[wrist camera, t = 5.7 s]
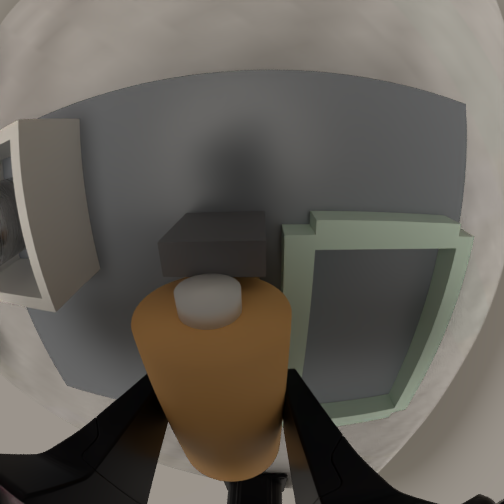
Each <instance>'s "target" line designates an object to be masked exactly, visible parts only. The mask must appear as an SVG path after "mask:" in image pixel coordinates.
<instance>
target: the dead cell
mask: <svg viewBox="0 0 504 504" xmlns="http://www.w3.org/2000/svg"><path fill="white" fill-rule="evenodd" d="M25 249H26V245H25V241H24V237H23V233H22V229H21V224H20V219H19V214H18V209H17V203H16V197H15V190H14V183H13V177H10V178H7V179H4V180H1V181H0V266H1V265H2V264H4V263H5V262H7V261H8V260H10V259H11V258H13V257H14V256H16V255H17V254H19V253H20V252H22V251H23V250H25Z"/></svg>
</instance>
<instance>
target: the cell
mask: <svg viewBox="0 0 504 504" xmlns="http://www.w3.org/2000/svg"><path fill="white" fill-rule="evenodd" d="M291 320H292V310H291V306H290V303H289V301H288V299H287V298H286V296H285V295H284V294H283V293H282V292H281V291H280V290H279V289H277V288H276V287H274V286H273V285H271V284H269V283H267V282H265V281H263V280H260V279H257V278H254V277H231V276H228V275H224V274H214V273H211V274H201V275H196V276H192V277H186V278H182V279H179V280H176V281H173V282H170V283H168V284H165V285H163V286H161V287H159V288H157V289H156V290H154V291H153V292H151V293H150V294H149V295H147V296H146V297H145V298H144V299H143V300H142V301H141V302H140V303H139V305H138V306H137V307H136V309H135V311H134V313H133V316H132V320H131V330H132V333H133V336H134V339H135V342H136V345H137V348H138V351H139V353H140V356H141V359H142V361H143V364H144V367H145V369H146V372H147V374H148V377H149V379H150V382H151V384H152V386H153V389H154V391H155V393H156V396H157V398H158V400H159V402H160V405H161V407H162V409H163V411H164V413H165V415H166V417H167V420H168V422H169V424H170V426H171V428H172V430H173V432H174V434H175V436H176V437H177V439H178V441H179V443H180V445H181V447H182V449H183V450H184V452H185V454H186V456H187V458H188V459H189V461H190V463H191V464H192V465H193V466H194V467H195V468H196V469H197V470H198V471H199V472H201V473H202V474H204V475H206V476H208V477H210V478H213V479H216V480H220V481H228V482H235V481H243V480H247V479H250V478H253V477H255V476H257V475H259V474H261V473H262V472H264V471H265V470H266V469H267V468H268V467H270V465H271V464H272V463H273V462H274V460H275V458H276V456H277V454H278V451H279V446H280V438H281V430H282V421H283V411H284V402H285V392H286V383H287V372H288V360H289V348H290V334H291Z"/></svg>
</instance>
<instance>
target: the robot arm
mask: <svg viewBox="0 0 504 504" xmlns="http://www.w3.org/2000/svg"><path fill="white" fill-rule="evenodd" d="M167 424H168V420H167V417H166V415H165V413H164V411H163V409H162V407H161V405H160V402H159V400H158V398H157V396H156V393H155V391H154V389H153V386H152V384H151V382H150V379H149V377H148V374H146V375H145V376H143V377H142V378H141V379H140V380H139V381H138V382H137V383H135V384H134V385H133V386H132V387H131V388H130V389H128V390H127V391H126V392H125V393H124V394H123V395H121V396H120V397H119V398H118V399H117V400H116V401H114V402H113V403H112V404H111V405H110V406H108V407H107V408H106V409H105V410H104V411H103V412H101V413H100V414H99V415H98V416H97V418H94V419H93V420H92V421H90V422H89V423H88V424H87V425H85V426H84V427H83V428H82V429H80V430H79V431H77V432H76V433H75V434H73V435H72V436H70V437H69V438H67V439H65V440H64V441H62V442H61V443H59V444H57V445H56V446H54V447H53V448H51V449H49V450H48V451H45V452H43V453H40V454H27V455H26V454H23V455H22V454H0V504H147V502H148V497H149V493H150V489H151V485H152V481H153V477H154V473H155V469H156V465H157V462H158V458H159V454H160V450H161V446H162V443H163V439H164V435H165V432H166V428H167ZM283 428H284V435H285V441H286V447H287V453H288V459H289V465H290V472H291V478H292V484H293V490H294V495H295V502H296V504H437V503H433V502H430V501H426V500H423V499H419V498H416V497H413V496H410V495H407V494H404V493H402V492H400V491H398V490H396V489H394V488H393V487H392V486H391V485H389V484H388V483H387V482H386V481H385V480H384V479H383V478H382V477H381V476H380V475H378V473H376V472H375V471H374V470H373V469H372V468H371V467H370V466H369V465H368V464H367V463H366V462H365V461H364V460H363V459H362V458H361V457H360V456H359V455H358V454H357V452H356V451H355V450H354V449H353V447H352V446H351V445H350V444H349V442H348V441H347V440H346V438H345V437H344V436H342V433H341V432H340V430H339V429H338V428H337V426H336V425H335V424H334V422H333V421H332V419H331V418H330V417H329V415H328V414H327V413H326V411H325V410H324V408H323V407H322V406H321V404H320V403H319V401H318V400H317V399H316V397H315V396H314V394H313V393H312V392H311V390H310V389H309V387H308V386H307V385H306V383H305V382H304V380H303V379H302V377H301V376H300V375H299V373H298V372H297V370H296V369H294V368H292V369H288V372H287V383H286V392H285V402H284V411H283ZM286 481H287V475H286V474H274V475H257V476H255V477H253V478H250V479H247V480H243V481H235V482H228V481H224V483H225V485H226V487H227V490H228V499H227V504H282V492H283V491H284V488H285V485H286ZM463 504H495V502H494V501H493V500H492V499H490V498H488V497H486V496H484V495H481V494H478V495H476V496H475V497H473V498H471V499H470V500H468V501H466V502H464V503H463ZM496 504H504V499H503V500H501V501H499V502H498V503H496Z"/></svg>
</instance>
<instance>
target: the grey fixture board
mask: <svg viewBox="0 0 504 504" xmlns="http://www.w3.org/2000/svg"><path fill="white" fill-rule="evenodd" d="M466 148H467V124H466V104H464V103H461V102H458V101H456V100H453V99H450V98H447V97H444V96H441V95H438V94H434V93H431V92H428V91H424V90H420V89H417V88H413V87H409V86H405V85H401V84H396V83H392V82H387V81H382V80H377V79H371V78H366V77H359V76H352V75H345V74H337V73H327V72H315V71H299V70H242V71H226V72H214V73H204V74H196V75H188V76H182V77H175V78H169V79H164V80H158V81H153V82H148V83H144V84H139V85H135V86H131V87H127V88H123V89H119V90H115V91H112V92H108V93H105V94H102V95H98V96H95V97H92V98H89V99H86V100H83V101H80V102H77V103H74V104H72V105H69V106H66V107H64V108H61V109H59V110H56V111H54V112H51V113H49V114H47V115H44V116H42V117H40V118H38V119H22V120H17V121H15V122H13V123H11V124H10V125H8V126H6V127H4V128H3V129H1V130H0V181H1V180H4V179H7V178H10V177H13V183H14V190H15V197H16V203H17V209H18V214H19V219H20V224H21V229H22V233H23V237H24V241H25V245H26V249H25V250H23V251H22V252H20V253H19V254H17V255H16V256H14V257H13V258H11V259H10V260H8V261H7V262H5V263H4V264H2V265H1V266H0V302H4V303H8V304H13V305H18V306H23V307H26V308H27V310H28V312H29V315H30V317H31V319H32V322H33V324H34V326H35V328H36V330H37V332H38V334H39V336H40V338H41V340H42V342H43V344H44V346H45V348H46V350H47V352H48V354H49V356H50V358H51V359H52V361H53V363H54V365H55V366H56V368H57V370H58V372H59V373H60V375H61V377H62V378H63V380H64V381H65V383H66V385H67V386H70V387H73V388H76V389H80V390H83V391H87V392H90V393H94V394H97V395H101V396H105V397H109V398H113V399H118V398H119V397H120V396H121V395H123V394H124V393H125V392H126V391H127V390H128V389H130V388H131V387H132V386H133V385H134V384H135V383H137V382H138V381H139V380H140V379H141V378H142V377H143V376H145V375H146V374H147V372H146V369H145V367H144V364H143V361H142V359H141V356H140V353H139V351H138V348H137V345H136V342H135V339H134V336H133V333H132V330H131V320H132V316H133V313H134V311H135V309H136V307H137V306H138V305H139V303H140V302H141V301H142V300H143V299H144V298H145V297H146V296H147V295H149V294H150V293H151V292H153V291H154V290H156V289H157V288H159V287H161V286H163V285H165V284H168V283H170V282H173V281H176V280H179V279H182V278H184V277H192V276H196V275H201V274H211V273H214V274H224V275H228V276H231V277H260V280H263V281H265V282H267V283H269V284H271V285H273V286H274V287H276V288H277V289H279V290H280V291H281V292H282V293H283V294H284V295H285V296H286V298H287V299H288V301H289V303H290V306H291V310H292V320H291V334H290V348H289V360H288V369H292V368H294V369H296V370H297V372H298V373H299V375H300V376H301V377H302V379H303V380H304V382H305V383H306V385H307V386H308V387H309V389H310V390H311V392H312V393H313V394H314V396H315V397H316V399H317V400H318V401H319V403H320V404H321V406H322V407H323V408H324V410H325V411H326V413H327V414H328V415H329V417H330V418H331V419H332V421H333V422H334V424H335V425H336V426H342V425H349V424H356V423H362V422H367V421H373V420H378V419H382V418H387V417H389V416H390V415H391V413H392V412H397V411H401V410H405V409H406V408H407V406H408V404H409V403H410V401H411V399H412V398H413V396H414V394H415V392H416V391H417V389H418V387H419V385H420V383H421V382H422V380H423V378H424V376H425V374H426V372H427V370H428V368H429V366H430V364H431V362H432V360H433V358H434V356H435V354H436V352H437V349H438V347H439V345H440V343H441V340H442V338H443V336H444V333H445V331H446V328H447V326H448V323H449V321H450V318H451V316H452V313H453V310H454V307H455V305H456V302H457V299H458V296H459V293H460V290H461V286H462V283H463V280H464V276H465V273H466V269H467V265H468V262H469V258H470V254H471V249H472V245H473V240H474V236H472V235H470V234H469V233H467V232H465V231H464V230H462V229H460V227H461V224H460V223H459V221H460V215H461V208H462V201H463V192H464V182H465V170H466ZM282 427H283V421H282Z"/></svg>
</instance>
